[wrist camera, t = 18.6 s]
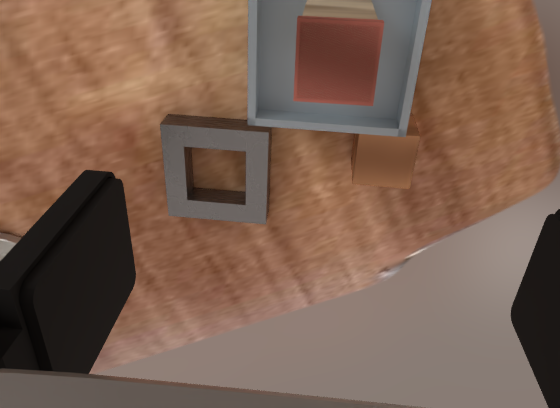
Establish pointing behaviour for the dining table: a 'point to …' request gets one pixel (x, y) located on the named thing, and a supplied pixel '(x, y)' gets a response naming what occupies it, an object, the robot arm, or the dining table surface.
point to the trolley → (325, 116)
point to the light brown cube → (385, 158)
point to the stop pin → (337, 52)
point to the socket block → (225, 136)
